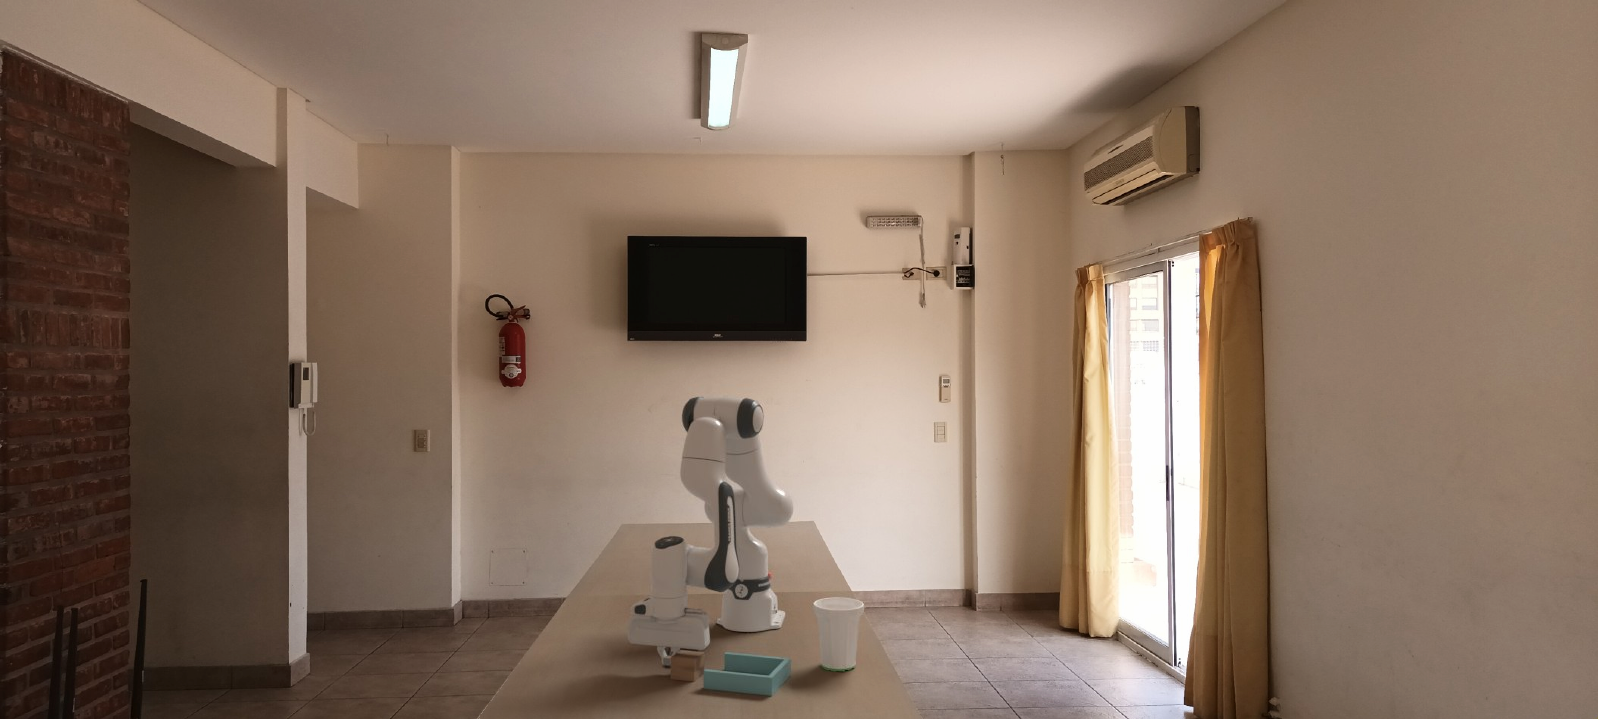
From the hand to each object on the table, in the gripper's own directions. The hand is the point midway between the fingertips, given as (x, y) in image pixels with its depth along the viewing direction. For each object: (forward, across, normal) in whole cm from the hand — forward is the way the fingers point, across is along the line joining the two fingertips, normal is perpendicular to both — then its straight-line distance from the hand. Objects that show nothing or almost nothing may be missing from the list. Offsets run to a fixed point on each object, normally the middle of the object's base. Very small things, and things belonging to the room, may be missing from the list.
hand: (668, 664), depth 219 cm
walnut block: (+2, -5, 0) cm, 6 cm away
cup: (+2, -37, -17) cm, 41 cm away
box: (+2, -20, 0) cm, 20 cm away
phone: (+3, +2, -12) cm, 12 cm away
